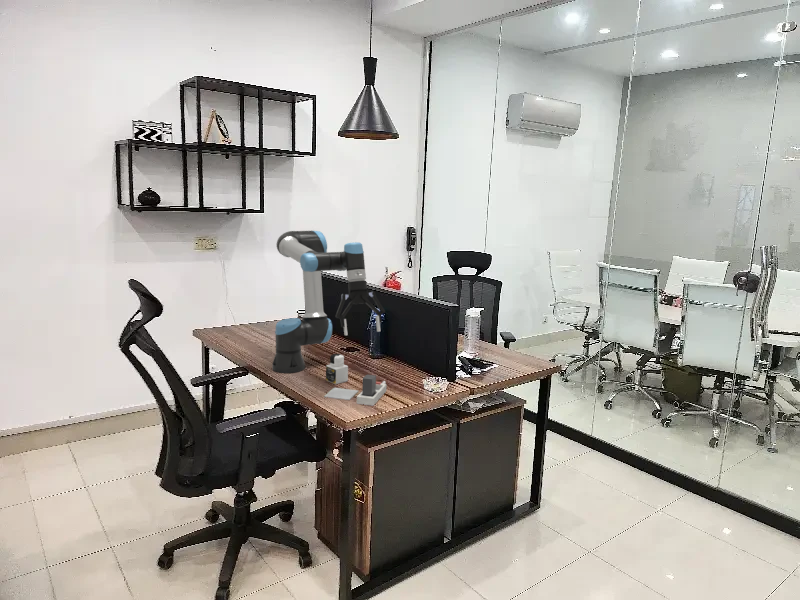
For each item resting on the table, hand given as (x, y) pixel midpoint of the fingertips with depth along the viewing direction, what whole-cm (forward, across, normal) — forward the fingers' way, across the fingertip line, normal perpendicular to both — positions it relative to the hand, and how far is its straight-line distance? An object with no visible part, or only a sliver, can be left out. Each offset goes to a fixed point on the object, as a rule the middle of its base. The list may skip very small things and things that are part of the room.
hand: (362, 333), depth 224 cm
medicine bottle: (+20, -7, +29) cm, 36 cm away
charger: (+27, 0, +3) cm, 27 cm away
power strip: (+26, +5, +10) cm, 28 cm away
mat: (+24, -9, +12) cm, 29 cm away
